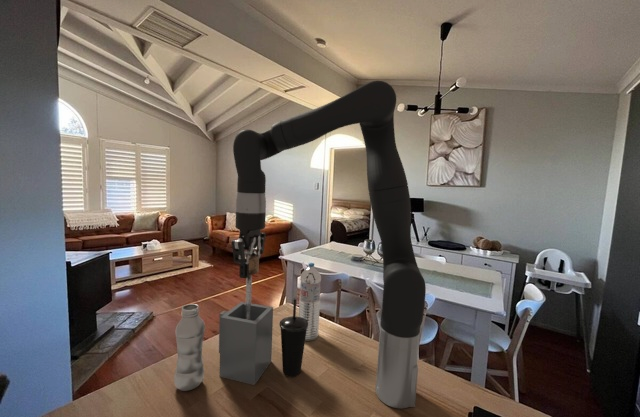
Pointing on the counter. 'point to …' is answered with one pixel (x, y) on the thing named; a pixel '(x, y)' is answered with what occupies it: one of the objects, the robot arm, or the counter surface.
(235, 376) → the box
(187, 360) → the plastic bottle
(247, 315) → the plunger
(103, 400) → the counter surface
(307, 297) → the water bottle
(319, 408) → the counter surface
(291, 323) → the drinking cup
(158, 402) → the counter surface
